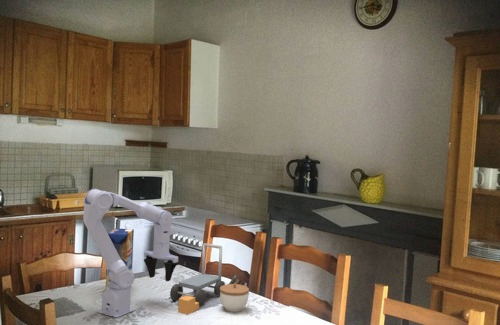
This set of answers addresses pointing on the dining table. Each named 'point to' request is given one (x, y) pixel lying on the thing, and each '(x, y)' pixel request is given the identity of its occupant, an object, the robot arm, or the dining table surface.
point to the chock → (187, 305)
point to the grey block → (237, 281)
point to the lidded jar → (234, 297)
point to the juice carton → (122, 247)
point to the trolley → (200, 281)
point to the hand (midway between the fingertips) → (159, 278)
